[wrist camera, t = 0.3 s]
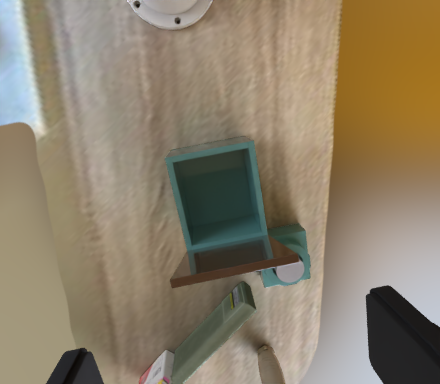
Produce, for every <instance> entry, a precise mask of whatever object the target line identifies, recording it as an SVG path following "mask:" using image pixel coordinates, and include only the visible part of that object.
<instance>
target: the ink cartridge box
mask: <svg viewBox="0 0 440 384" xmlns="http://www.w3.org/2000/svg"><path fill="white" fill-rule="evenodd" d="M174 356H175V354H173V353H171V352H170V351H168V350H165V351H164V352H163V353H162V354H161V355H160V356H159V357H158V359H157V360H156V361H155V362H154V363H153V364H152V365H151V366H150V367H149V368H148V370H147V371H146V372H145V373H144V374H143V375H142V376H141V377H140V380H139V384H171V383H172V381H171V377H172V370H173V363H174Z"/></svg>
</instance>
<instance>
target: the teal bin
mask: <svg viewBox="0 0 440 384" xmlns="http://www.w3.org/2000/svg"><path fill="white" fill-rule="evenodd" d="M165 161H166V165H167V169H168V173H169V177H170V181H171V185H172V190H173V194H174V198H175V202H176V206H177V210H178V214H179V218H180V223H181V227H182V231H183V235H184V239H185V243H186V247H187V251H189V250H194V249H199V248H204V247H209V246H214V245H219V244H224V243H229V242H234V241H239V240H244V239H249V238H254V237H259V236H264V235H268V233H267V226H266V219H265V213H264V206H263V199H262V192H261V186H260V179H259V172H258V166H257V159H256V152H255V145H254V141H253V140H251V139H250V138H248V137H246V136H240V137H235V138H230V139H225V140H220V141H215V142H210V143H204V144H199V145H194V146H189V147H184V148H179V149H174V150H171V151H170V152H169V153H168V155H167V156H166V157H165Z"/></svg>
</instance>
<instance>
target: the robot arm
mask: <svg viewBox="0 0 440 384" xmlns="http://www.w3.org/2000/svg"><path fill="white" fill-rule="evenodd" d="M127 1H128V3H129V4H130V6H131V7H132V9H133V10H134V11H135V12H136V13H137V14H138V15H139V17H141V18H142V19H143V20H145V21H146V22H147V23H149V24H151V25H153V26H155V27H158V28H161V29H165V30H178V29H183V28H186V27H189V26H191V25H192V24H194V23H196V22H197V21H198V20H199V19H200V18H201V17H202V16H204V14H205V13H206V11H207V10H208V9H209V7H210V5H211V3H212V1H213V0H127ZM137 5H140V7H139V8H137ZM177 21H179V22H180V24H177V23H176V22H177ZM366 308H367V327H368V346H369V359H370V362H371V365H372V367H373V369H374V370H375V372H376V373H377V375H378V376H379V378H380V379H381V380H382V382H383V384H440V327H439V326H437V325H436V324H434V323H432V322H431V321H429V320H428V319H427V318H426V317H425V316H424V315H423V314H421V313H420V312H419V311H418V310H417V309H416V308H415V307H414V306H413V305H411V304H410V303H409V302H408V301H407V300H406V299H405V298H403V297H402V296H401V295H400V294H399V293H398V292H397V291H396V290H394V289H393V288H392V287H391V286H382V287H377V288H373V289H371V290H370V294H367V295H366ZM46 384H104V383H103V380H102V378H101V375H100V372H99V370H98V367H97V364H96V362H95V359H94V357H93V354H92V352H87V350H86V349H85V348H80V349H76V350H71V351H66V352H65V353H64V354H63V355H62V357H61V359H60V361H59V362H58V364H57V366H56V367H55V369H54V371H53V373H52V374H51V376H50V378H49V380H48V381H47V383H46Z"/></svg>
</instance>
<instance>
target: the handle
mask: <svg viewBox="0 0 440 384" xmlns="http://www.w3.org/2000/svg"><path fill="white" fill-rule="evenodd" d="M274 353H275V352H274V350H273V348H272V347H268V346H266V345H264V346H263V347H261V348H259V349H258V365H259V372H260V377H261V381H262V384H285V380H284V376H283V373H282V370H281V367H280V364H279V362H278V359H277V357H276V356H275V354H274Z"/></svg>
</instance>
